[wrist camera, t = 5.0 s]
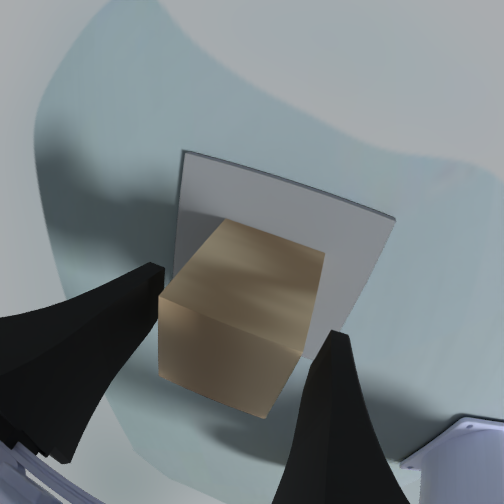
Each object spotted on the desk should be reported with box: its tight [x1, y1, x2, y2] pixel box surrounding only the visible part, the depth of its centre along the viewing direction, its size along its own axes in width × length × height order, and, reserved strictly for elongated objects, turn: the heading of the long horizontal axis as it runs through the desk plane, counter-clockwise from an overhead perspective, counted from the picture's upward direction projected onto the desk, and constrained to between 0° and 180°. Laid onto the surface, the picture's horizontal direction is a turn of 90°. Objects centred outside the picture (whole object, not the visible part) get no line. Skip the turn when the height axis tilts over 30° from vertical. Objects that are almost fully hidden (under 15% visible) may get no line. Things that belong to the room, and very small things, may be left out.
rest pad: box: [173, 151, 396, 360], centre depth 13 cm, size 8×8×1 cm
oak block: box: [158, 219, 325, 419], centre depth 11 cm, size 4×4×5 cm
